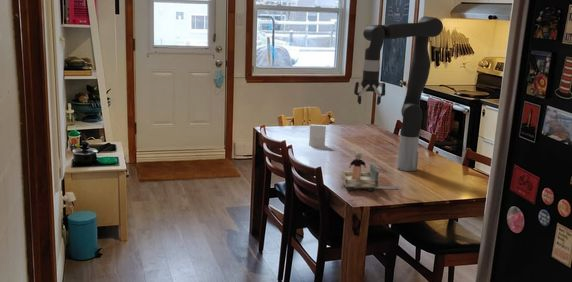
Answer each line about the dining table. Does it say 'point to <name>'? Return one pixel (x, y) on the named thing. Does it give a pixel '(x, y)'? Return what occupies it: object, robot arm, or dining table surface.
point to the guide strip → (375, 187)
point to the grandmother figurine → (357, 166)
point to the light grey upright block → (317, 136)
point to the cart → (362, 179)
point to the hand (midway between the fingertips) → (368, 104)
